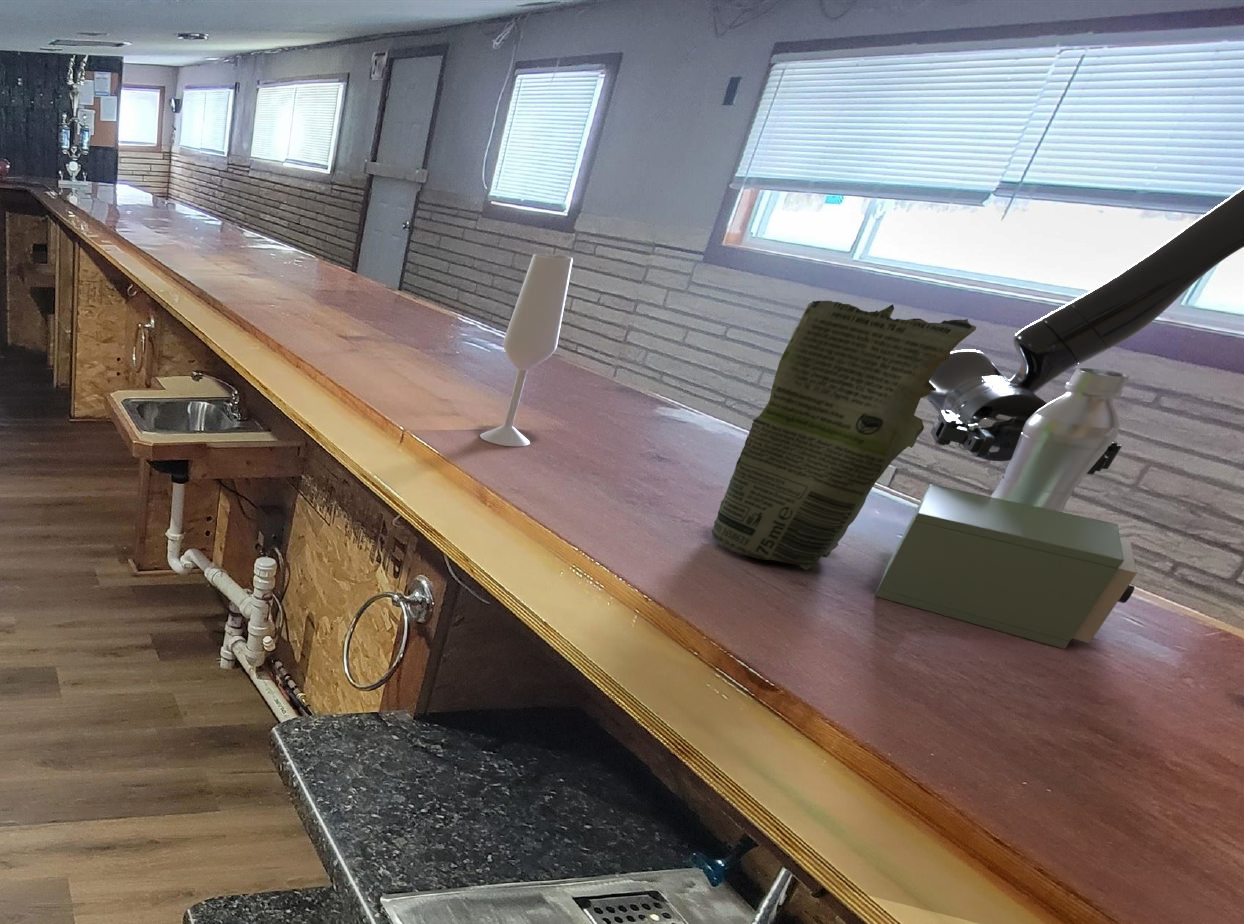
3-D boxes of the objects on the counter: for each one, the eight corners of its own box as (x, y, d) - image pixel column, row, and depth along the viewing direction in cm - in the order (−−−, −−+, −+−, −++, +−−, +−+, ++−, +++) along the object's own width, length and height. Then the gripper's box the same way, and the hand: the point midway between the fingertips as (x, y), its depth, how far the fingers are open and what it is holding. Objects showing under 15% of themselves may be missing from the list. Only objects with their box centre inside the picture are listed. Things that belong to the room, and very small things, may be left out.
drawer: (1104, 609, 83) (1149, 542, 79) (1108, 648, 76) (1157, 577, 73) (920, 562, 91) (954, 500, 87) (909, 594, 84) (945, 527, 80)
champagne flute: (492, 429, 130) (537, 251, 118) (537, 440, 126) (589, 257, 114) (471, 437, 125) (516, 254, 113) (518, 449, 121) (569, 261, 109)
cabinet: (1063, 607, 85) (1118, 523, 81) (1064, 649, 77) (1124, 560, 73) (889, 561, 93) (929, 483, 88) (874, 596, 85) (918, 512, 81)
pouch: (701, 524, 100) (794, 289, 88) (824, 543, 96) (939, 301, 84) (720, 562, 91) (826, 306, 78) (857, 584, 87) (991, 320, 75)
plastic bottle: (934, 550, 96) (1036, 362, 86) (1002, 556, 95) (1113, 367, 85) (975, 575, 90) (1090, 377, 81) (1048, 582, 90) (1173, 383, 80)
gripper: (1060, 463, 101) (1110, 506, 89) (906, 439, 107) (932, 477, 95) (1099, 397, 97) (1156, 433, 85) (937, 377, 103) (969, 407, 91)
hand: (1038, 456), depth 90 cm, fingers open, 8 cm apart
